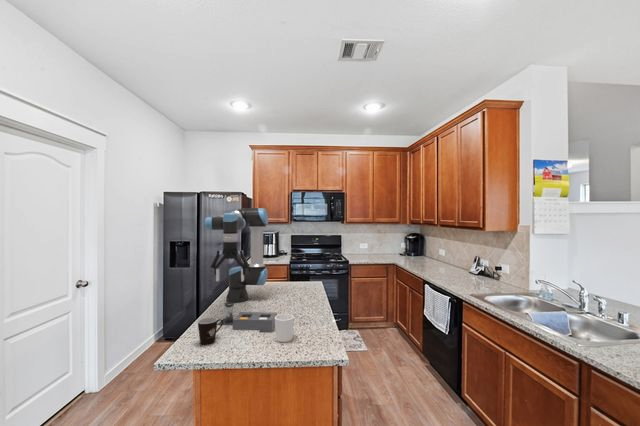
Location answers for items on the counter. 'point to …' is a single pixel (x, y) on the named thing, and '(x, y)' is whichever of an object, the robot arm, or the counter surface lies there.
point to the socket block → (255, 321)
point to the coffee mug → (208, 330)
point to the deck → (224, 323)
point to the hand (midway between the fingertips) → (230, 281)
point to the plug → (229, 312)
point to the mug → (284, 327)
